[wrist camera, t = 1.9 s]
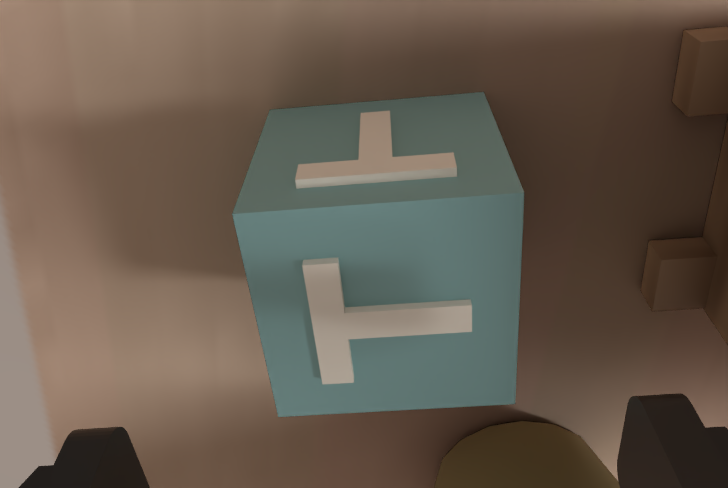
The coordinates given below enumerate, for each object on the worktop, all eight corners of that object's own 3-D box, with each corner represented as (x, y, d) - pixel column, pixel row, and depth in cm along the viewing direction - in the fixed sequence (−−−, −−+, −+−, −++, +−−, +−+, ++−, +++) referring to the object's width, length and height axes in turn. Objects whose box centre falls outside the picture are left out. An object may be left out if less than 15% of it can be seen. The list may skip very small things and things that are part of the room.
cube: (483, 83, 17) (526, 188, 12) (482, 267, 20) (516, 410, 15) (269, 101, 17) (227, 210, 12) (300, 280, 20) (277, 423, 15)
